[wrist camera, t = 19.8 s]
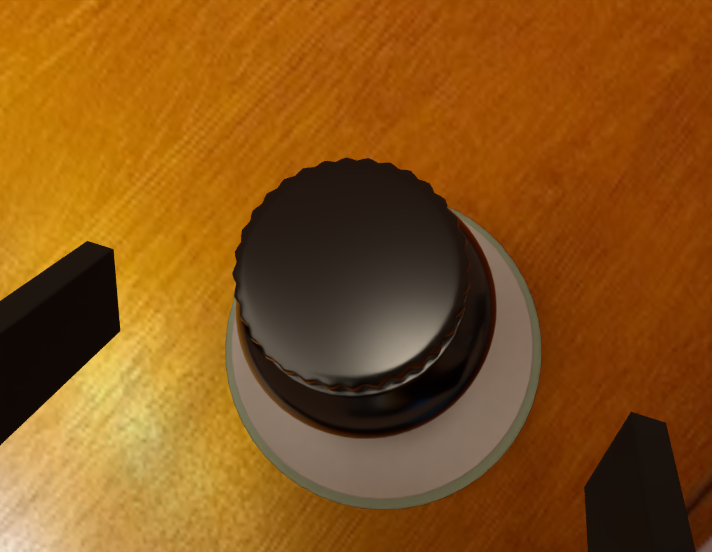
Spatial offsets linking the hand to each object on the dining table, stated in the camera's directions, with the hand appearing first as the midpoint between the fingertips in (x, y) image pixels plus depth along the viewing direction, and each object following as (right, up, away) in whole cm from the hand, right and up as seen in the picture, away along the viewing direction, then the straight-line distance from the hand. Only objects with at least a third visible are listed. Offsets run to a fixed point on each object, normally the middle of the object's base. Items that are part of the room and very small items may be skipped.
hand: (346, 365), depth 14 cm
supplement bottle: (+1, 0, +9) cm, 9 cm away
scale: (+1, -1, +11) cm, 11 cm away
